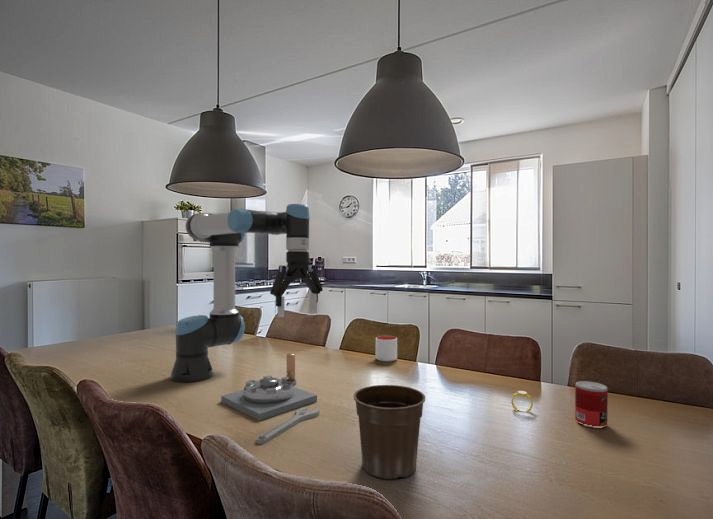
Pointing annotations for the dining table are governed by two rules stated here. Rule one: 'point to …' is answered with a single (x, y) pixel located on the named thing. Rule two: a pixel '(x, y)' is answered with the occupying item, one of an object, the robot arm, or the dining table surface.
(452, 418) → the dining table surface
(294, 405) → the base plate
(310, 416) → the adjustable wrench
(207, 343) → the robot arm
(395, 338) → the cup
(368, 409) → the plant pot
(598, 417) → the canned food
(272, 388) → the metal rotary base
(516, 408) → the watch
